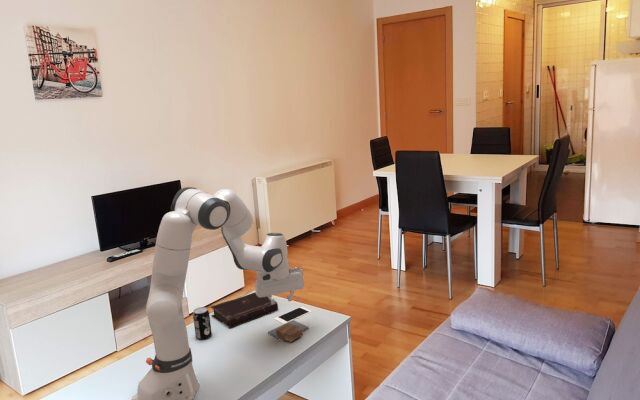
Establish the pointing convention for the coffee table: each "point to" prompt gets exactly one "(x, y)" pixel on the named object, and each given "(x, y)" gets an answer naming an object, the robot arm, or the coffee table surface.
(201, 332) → the beverage can
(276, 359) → the coffee table surface
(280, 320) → the cell phone
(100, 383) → the coffee table surface
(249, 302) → the diary
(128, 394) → the coffee table surface
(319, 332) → the coffee table surface
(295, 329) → the wooden block
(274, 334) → the mat
